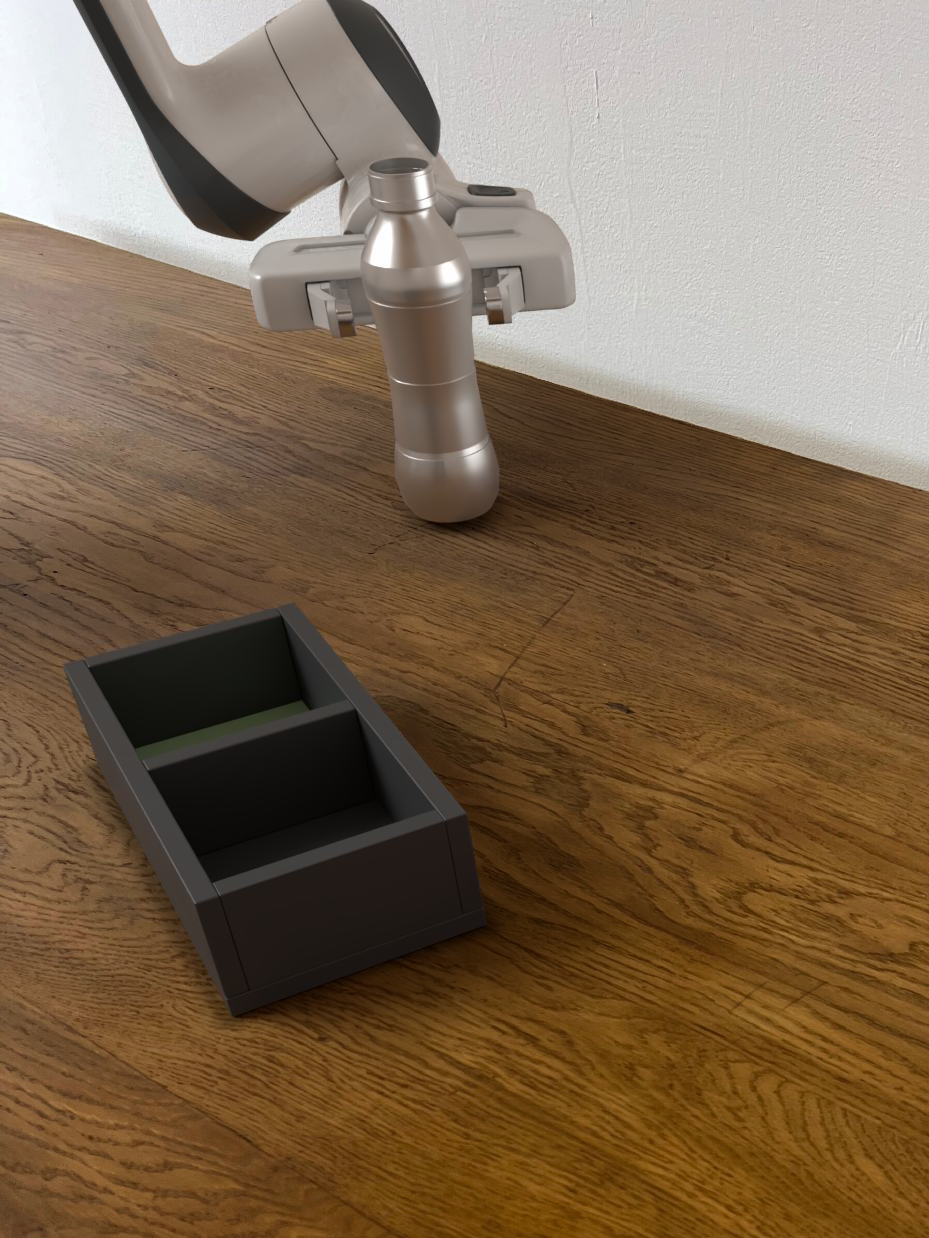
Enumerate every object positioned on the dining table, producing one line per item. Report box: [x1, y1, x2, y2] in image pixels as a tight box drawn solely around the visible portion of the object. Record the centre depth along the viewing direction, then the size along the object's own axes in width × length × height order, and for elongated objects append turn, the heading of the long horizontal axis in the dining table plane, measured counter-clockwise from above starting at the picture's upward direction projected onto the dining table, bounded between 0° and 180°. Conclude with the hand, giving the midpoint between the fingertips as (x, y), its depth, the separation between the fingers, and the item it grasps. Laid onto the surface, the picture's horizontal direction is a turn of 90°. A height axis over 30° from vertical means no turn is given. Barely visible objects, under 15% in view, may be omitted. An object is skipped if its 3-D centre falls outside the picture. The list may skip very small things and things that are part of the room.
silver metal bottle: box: [360, 157, 500, 523], centre depth 94 cm, size 6×7×20 cm
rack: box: [62, 602, 487, 1018], centre depth 73 cm, size 12×22×6 cm, turn 31°
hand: (421, 317), depth 96 cm, fingers open, 8 cm apart
